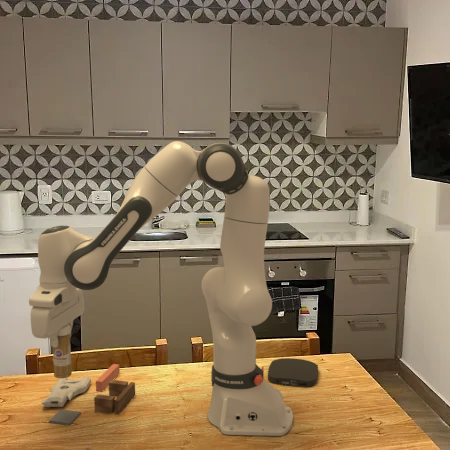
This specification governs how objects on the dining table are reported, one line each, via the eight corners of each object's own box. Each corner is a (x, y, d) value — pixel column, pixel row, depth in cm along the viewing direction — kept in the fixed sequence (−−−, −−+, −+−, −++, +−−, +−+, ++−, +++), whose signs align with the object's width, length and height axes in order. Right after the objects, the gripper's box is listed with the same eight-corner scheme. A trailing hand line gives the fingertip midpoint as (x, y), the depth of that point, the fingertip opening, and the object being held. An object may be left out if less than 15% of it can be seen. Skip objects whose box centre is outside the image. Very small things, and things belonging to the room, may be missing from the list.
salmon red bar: (119, 373, 178) (119, 364, 178) (102, 391, 167) (102, 381, 166) (113, 372, 179) (113, 363, 178) (96, 390, 167) (95, 381, 167)
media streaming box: (318, 368, 183) (319, 359, 182) (315, 390, 169) (315, 380, 168) (272, 364, 186) (273, 355, 185) (265, 384, 172) (265, 375, 171)
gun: (76, 398, 155) (38, 398, 155) (76, 410, 155) (39, 410, 156) (92, 372, 173) (58, 372, 173) (92, 383, 174) (59, 383, 174)
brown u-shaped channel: (135, 395, 165) (134, 382, 164) (119, 414, 154) (118, 400, 153) (112, 392, 166) (111, 379, 166) (94, 411, 156) (94, 397, 155)
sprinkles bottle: (52, 379, 148) (50, 329, 145) (55, 371, 152) (53, 323, 150) (70, 378, 148) (68, 328, 146) (73, 371, 153) (71, 322, 150)
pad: (81, 413, 155) (80, 411, 154) (70, 425, 149) (69, 423, 149) (60, 411, 156) (60, 409, 156) (48, 422, 150) (48, 420, 150)
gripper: (67, 278, 157) (70, 326, 159) (24, 301, 137) (28, 356, 140) (89, 279, 155) (91, 328, 158) (48, 303, 136) (51, 359, 138)
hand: (61, 341), depth 149 cm, fingers closed on sprinkles bottle, 4 cm apart
